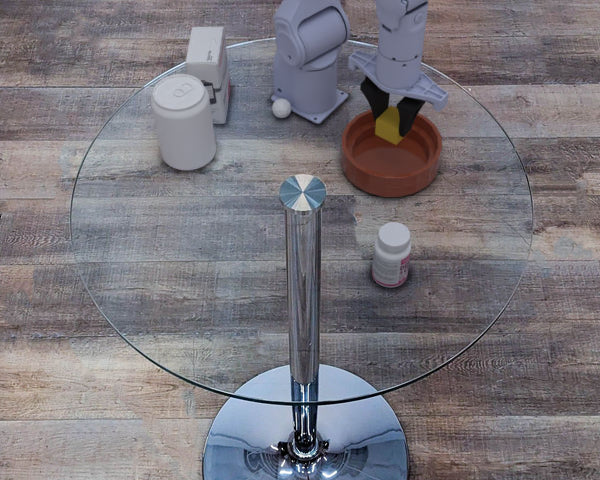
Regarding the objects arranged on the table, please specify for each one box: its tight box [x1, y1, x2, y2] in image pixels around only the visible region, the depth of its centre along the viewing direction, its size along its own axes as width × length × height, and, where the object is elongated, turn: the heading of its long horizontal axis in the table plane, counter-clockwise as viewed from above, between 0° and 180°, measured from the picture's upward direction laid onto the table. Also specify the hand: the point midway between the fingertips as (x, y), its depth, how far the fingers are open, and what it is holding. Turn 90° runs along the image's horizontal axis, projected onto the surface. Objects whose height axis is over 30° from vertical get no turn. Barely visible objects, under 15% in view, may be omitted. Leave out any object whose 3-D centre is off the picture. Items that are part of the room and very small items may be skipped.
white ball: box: [271, 98, 292, 119], centre depth 132 cm, size 3×3×3 cm
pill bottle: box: [371, 221, 412, 288], centre depth 112 cm, size 5×5×8 cm
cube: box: [375, 105, 408, 145], centre depth 121 cm, size 4×4×3 cm
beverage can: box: [150, 73, 217, 171], centre depth 124 cm, size 8×8×12 cm
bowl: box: [340, 106, 443, 198], centre depth 126 cm, size 14×14×4 cm
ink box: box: [184, 26, 231, 125], centre depth 130 cm, size 8×5×12 cm, turn 177°
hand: (393, 126), depth 121 cm, fingers closed on cube, 3 cm apart
